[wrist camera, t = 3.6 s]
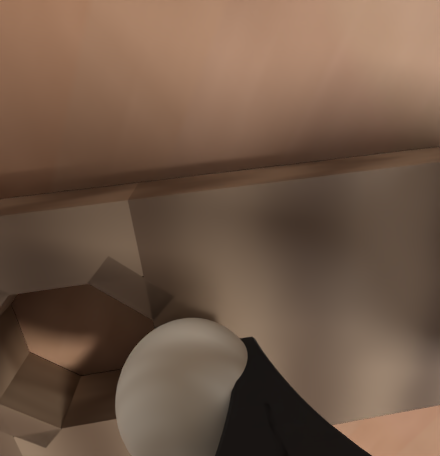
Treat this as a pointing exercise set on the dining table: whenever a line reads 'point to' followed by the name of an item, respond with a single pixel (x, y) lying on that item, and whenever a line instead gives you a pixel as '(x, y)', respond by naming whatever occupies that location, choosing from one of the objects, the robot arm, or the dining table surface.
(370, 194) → the walnut board
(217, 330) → the off-white ball
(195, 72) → the dining table surface
